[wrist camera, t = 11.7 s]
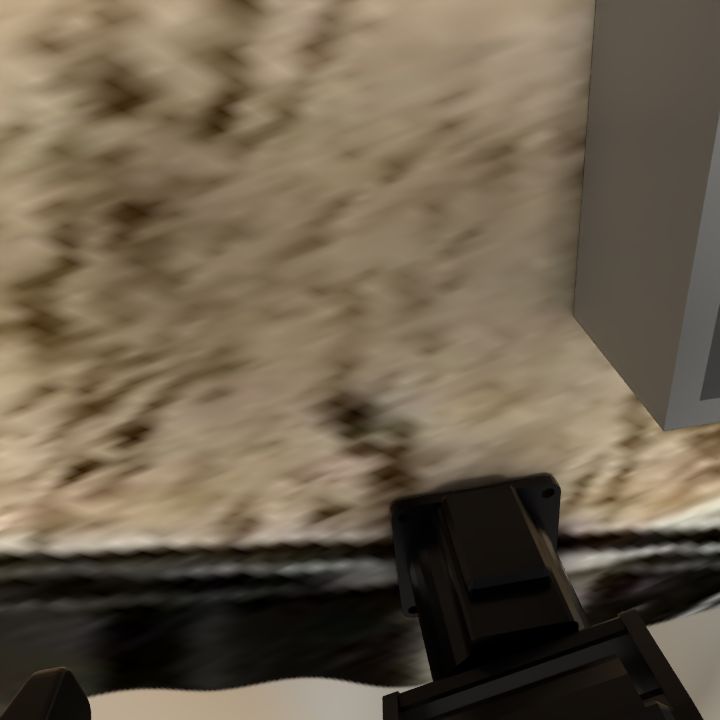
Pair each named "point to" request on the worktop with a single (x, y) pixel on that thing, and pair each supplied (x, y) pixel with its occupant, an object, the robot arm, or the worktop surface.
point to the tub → (654, 204)
